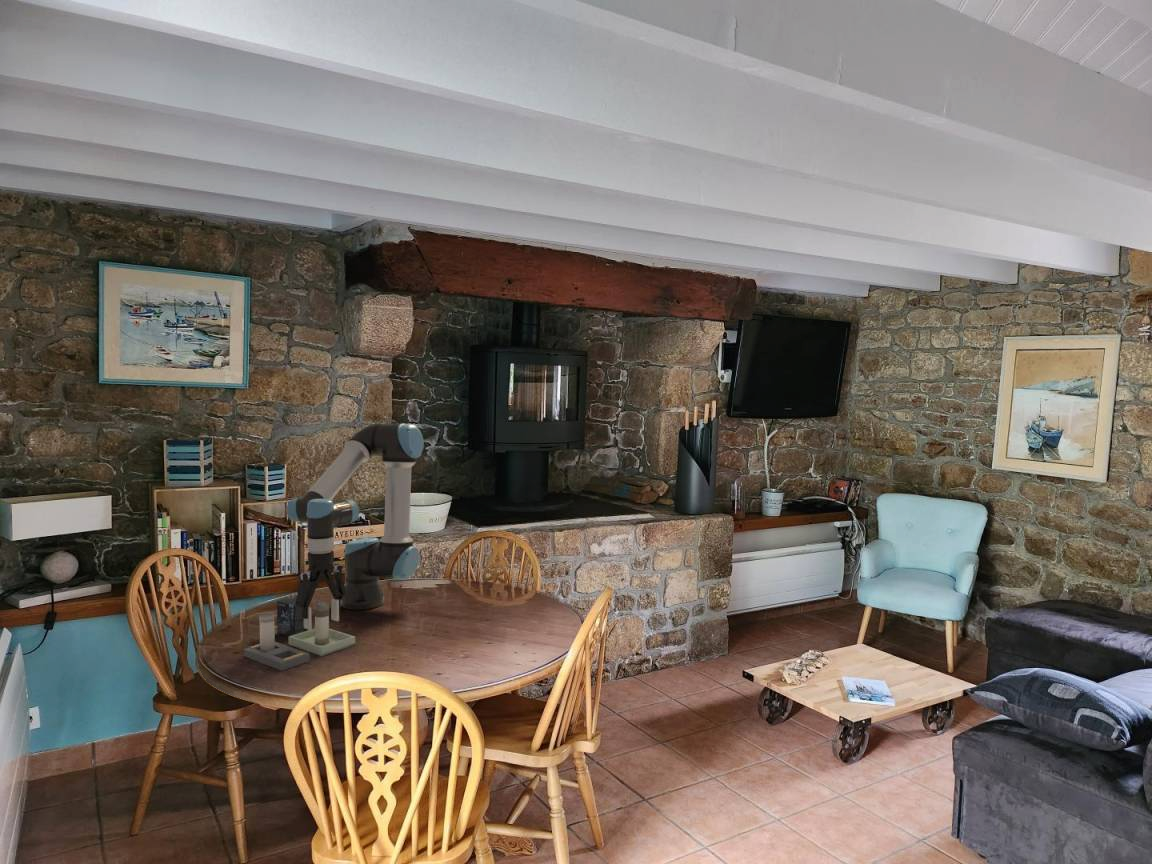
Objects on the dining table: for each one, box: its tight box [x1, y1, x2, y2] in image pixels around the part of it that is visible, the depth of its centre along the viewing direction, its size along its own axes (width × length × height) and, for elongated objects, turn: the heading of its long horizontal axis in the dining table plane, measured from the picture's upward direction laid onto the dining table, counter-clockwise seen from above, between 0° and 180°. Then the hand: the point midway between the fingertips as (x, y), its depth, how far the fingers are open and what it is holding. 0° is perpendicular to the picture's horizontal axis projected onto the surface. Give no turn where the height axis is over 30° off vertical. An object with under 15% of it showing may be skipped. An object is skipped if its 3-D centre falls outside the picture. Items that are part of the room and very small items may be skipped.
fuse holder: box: [243, 641, 311, 672], centre depth 222 cm, size 18×9×2 cm, turn 55°
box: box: [276, 596, 309, 637], centre depth 244 cm, size 8×6×11 cm
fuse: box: [258, 612, 276, 652], centre depth 225 cm, size 4×4×12 cm
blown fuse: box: [314, 601, 330, 645], centre depth 234 cm, size 4×4×12 cm
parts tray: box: [287, 628, 356, 657], centre depth 234 cm, size 16×12×2 cm
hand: (321, 624), depth 234 cm, fingers open, 9 cm apart
